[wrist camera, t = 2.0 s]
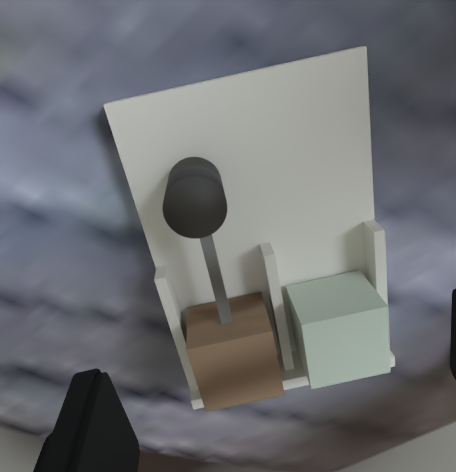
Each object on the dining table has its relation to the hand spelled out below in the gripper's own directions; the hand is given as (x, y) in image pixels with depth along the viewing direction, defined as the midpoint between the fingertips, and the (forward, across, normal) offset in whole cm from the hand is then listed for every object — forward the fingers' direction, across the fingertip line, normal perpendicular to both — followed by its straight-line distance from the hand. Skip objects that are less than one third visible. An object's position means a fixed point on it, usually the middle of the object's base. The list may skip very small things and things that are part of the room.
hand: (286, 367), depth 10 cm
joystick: (+18, +2, +7) cm, 20 cm away
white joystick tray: (+20, -2, +6) cm, 21 cm away
